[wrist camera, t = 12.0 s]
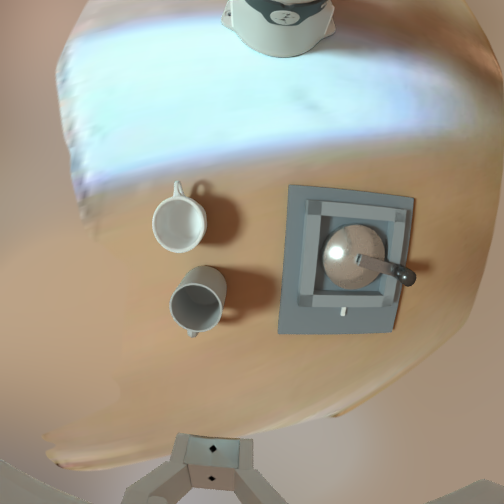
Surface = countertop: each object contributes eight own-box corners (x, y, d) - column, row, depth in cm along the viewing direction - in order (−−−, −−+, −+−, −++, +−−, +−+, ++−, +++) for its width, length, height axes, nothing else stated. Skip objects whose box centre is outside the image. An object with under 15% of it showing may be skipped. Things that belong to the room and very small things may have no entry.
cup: (231, 270, 47) (227, 290, 38) (219, 325, 49) (213, 353, 40) (187, 260, 47) (173, 277, 38) (177, 315, 49) (164, 341, 40)
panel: (288, 184, 44) (291, 184, 41) (410, 197, 44) (420, 199, 41) (277, 330, 49) (279, 340, 46) (389, 329, 50) (396, 337, 46)
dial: (312, 276, 46) (321, 290, 40) (332, 215, 44) (344, 220, 37) (387, 296, 47) (403, 310, 41) (407, 240, 44) (426, 249, 38)
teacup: (212, 243, 46) (207, 250, 41) (165, 246, 46) (155, 254, 41) (207, 178, 44) (201, 177, 38) (159, 183, 44) (147, 184, 39)
